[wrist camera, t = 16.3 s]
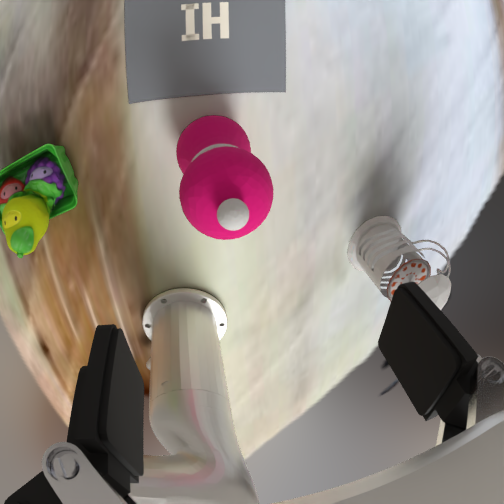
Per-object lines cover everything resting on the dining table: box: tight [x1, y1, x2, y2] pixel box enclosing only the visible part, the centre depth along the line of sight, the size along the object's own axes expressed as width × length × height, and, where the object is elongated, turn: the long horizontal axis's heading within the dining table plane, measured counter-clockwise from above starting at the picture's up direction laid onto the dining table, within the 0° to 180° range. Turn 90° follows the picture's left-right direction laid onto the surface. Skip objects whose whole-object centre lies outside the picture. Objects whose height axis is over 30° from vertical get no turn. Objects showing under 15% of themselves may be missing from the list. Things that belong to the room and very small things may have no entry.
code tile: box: [125, 0, 286, 104], centre depth 26 cm, size 17×17×1 cm
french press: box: [347, 216, 482, 363], centre depth 35 cm, size 10×12×25 cm
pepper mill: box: [176, 115, 273, 240], centre depth 25 cm, size 7×7×20 cm
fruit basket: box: [0, 144, 78, 258], centre depth 26 cm, size 11×9×11 cm
